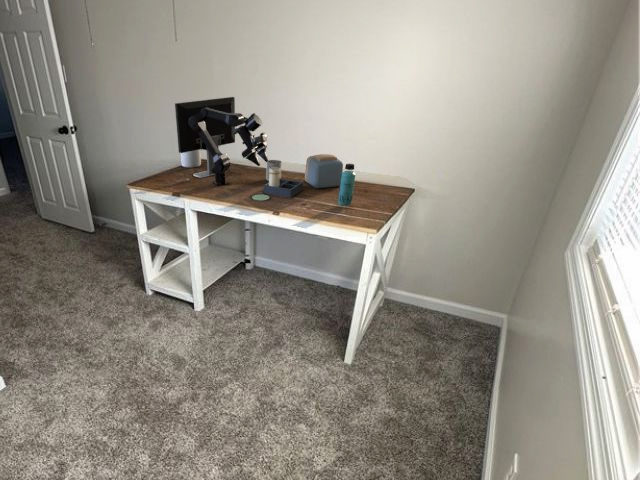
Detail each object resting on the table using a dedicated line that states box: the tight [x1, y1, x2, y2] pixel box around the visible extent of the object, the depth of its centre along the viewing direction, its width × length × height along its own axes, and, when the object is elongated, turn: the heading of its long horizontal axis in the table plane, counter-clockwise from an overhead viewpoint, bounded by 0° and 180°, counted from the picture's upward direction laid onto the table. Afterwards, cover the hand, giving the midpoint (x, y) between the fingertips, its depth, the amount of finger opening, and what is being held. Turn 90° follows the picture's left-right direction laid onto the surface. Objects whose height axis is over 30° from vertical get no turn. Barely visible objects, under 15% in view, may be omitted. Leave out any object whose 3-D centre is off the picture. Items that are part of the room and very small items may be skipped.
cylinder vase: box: [180, 149, 202, 169], centre depth 261 cm, size 12×12×25 cm
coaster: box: [251, 194, 270, 201], centre depth 212 cm, size 9×9×1 cm
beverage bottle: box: [337, 163, 357, 207], centre depth 195 cm, size 6×7×20 cm
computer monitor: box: [174, 96, 236, 179], centre depth 241 cm, size 41×8×40 cm, turn 133°
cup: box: [265, 159, 283, 181], centre depth 237 cm, size 8×8×10 cm
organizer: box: [263, 177, 304, 199], centre depth 219 cm, size 15×15×4 cm
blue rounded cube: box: [304, 153, 344, 190], centre depth 227 cm, size 16×16×16 cm
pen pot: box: [268, 167, 280, 187], centre depth 216 cm, size 6×6×12 cm
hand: (263, 163), depth 215 cm, fingers open, 9 cm apart
